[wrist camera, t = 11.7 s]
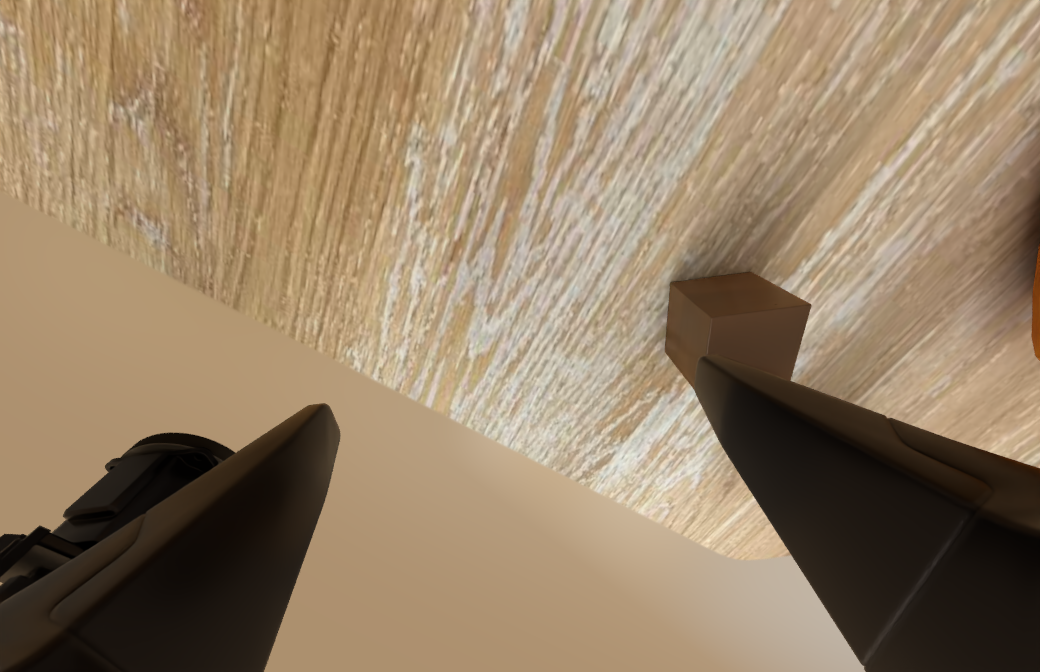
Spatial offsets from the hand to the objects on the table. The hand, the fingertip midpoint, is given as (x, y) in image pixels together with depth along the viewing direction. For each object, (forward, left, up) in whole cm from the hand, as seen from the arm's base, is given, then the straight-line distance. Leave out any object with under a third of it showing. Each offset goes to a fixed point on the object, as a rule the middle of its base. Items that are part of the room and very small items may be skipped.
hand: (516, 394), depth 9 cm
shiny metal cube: (-5, -11, -12) cm, 17 cm away
